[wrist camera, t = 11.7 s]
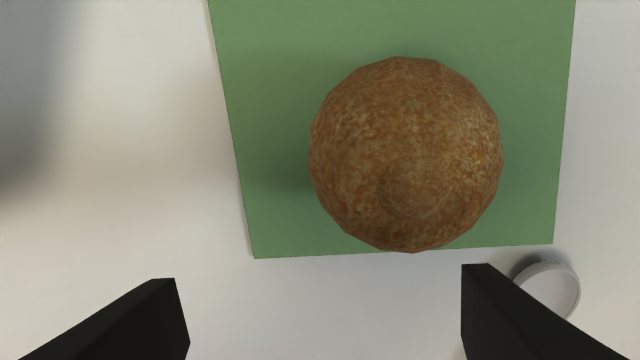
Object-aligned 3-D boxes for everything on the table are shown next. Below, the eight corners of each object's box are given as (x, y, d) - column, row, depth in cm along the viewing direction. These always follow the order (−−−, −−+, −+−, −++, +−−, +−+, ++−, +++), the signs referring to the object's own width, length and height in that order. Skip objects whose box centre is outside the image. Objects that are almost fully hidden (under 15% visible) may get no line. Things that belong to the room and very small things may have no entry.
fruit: (288, 135, 18) (242, 210, 11) (384, 14, 16) (408, 4, 9) (395, 219, 19) (421, 342, 12) (498, 115, 17) (608, 184, 10)
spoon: (583, 259, 19) (606, 286, 17) (481, 422, 24) (491, 456, 22) (521, 242, 19) (537, 268, 17) (432, 409, 24) (437, 443, 22)
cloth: (577, -51, 15) (580, -52, 15) (550, 240, 19) (552, 244, 19) (208, -5, 17) (206, -6, 17) (255, 256, 21) (253, 259, 21)
